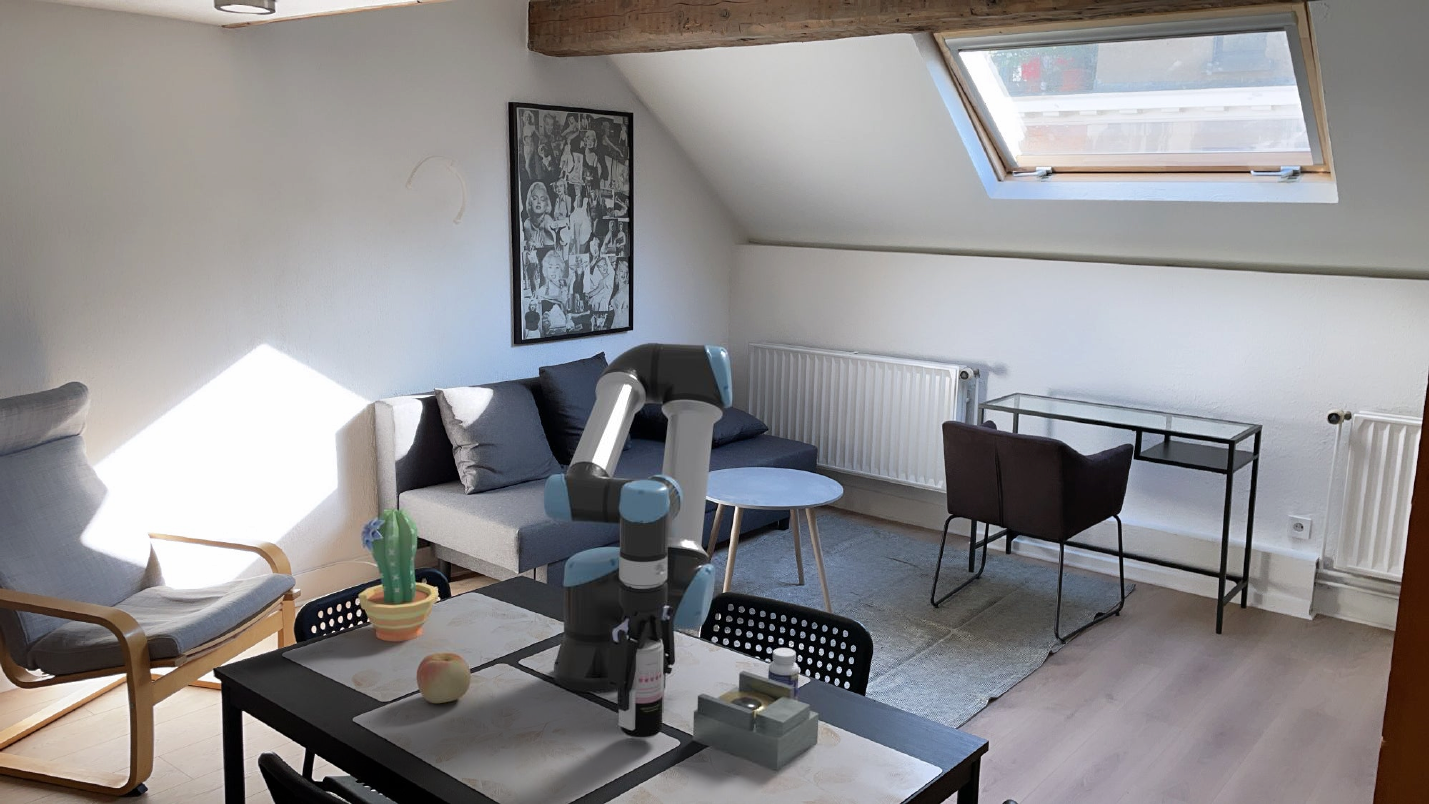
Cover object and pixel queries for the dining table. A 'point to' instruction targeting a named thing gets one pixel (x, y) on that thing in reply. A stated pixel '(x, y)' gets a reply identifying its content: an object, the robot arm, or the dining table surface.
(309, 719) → the dining table surface
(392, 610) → the potted cactus
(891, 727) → the dining table surface
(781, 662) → the pill bottle
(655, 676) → the beverage can
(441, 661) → the apple
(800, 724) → the brass dish housing
